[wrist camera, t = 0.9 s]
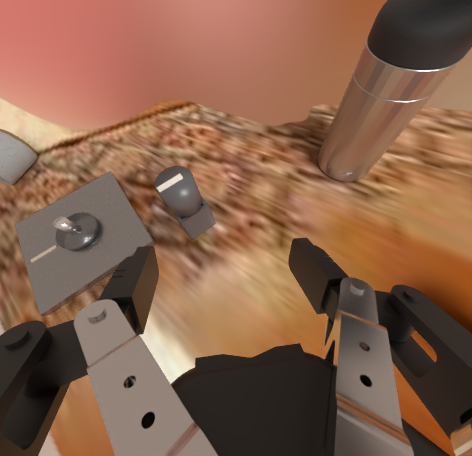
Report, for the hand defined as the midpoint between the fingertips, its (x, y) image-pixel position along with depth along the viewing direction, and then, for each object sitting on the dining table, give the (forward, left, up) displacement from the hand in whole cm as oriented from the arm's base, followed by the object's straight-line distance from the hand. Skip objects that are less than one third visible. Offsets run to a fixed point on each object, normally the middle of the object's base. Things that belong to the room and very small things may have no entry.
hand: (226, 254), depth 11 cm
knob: (-6, -12, -18) cm, 23 cm away
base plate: (+6, -27, -18) cm, 34 cm away
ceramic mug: (+5, -52, -19) cm, 56 cm away
